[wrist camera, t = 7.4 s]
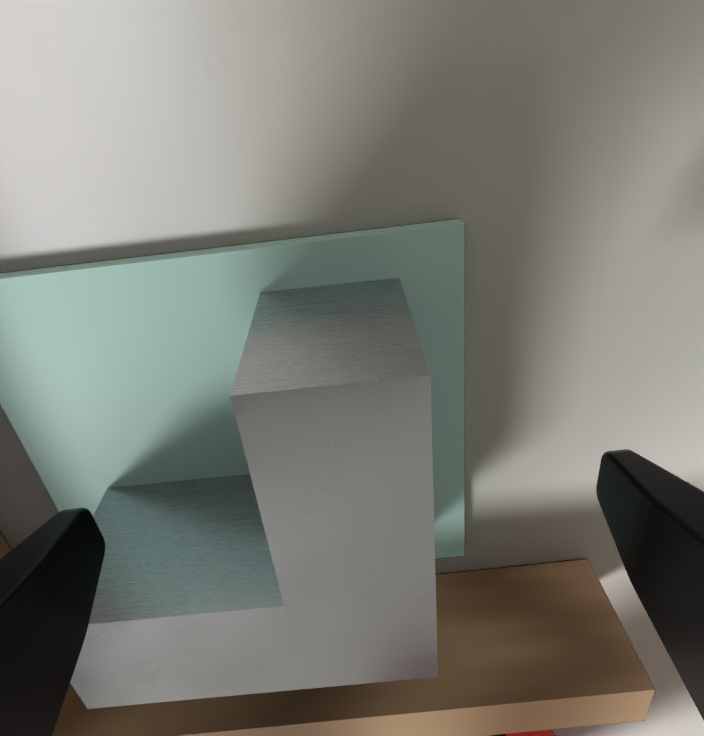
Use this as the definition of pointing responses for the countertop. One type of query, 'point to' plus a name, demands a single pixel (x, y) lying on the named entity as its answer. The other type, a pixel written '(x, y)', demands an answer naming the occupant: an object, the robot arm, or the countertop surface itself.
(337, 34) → the countertop surface
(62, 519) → the robot arm
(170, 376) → the pad
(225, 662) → the bracket
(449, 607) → the wooden corner wall
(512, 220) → the countertop surface
